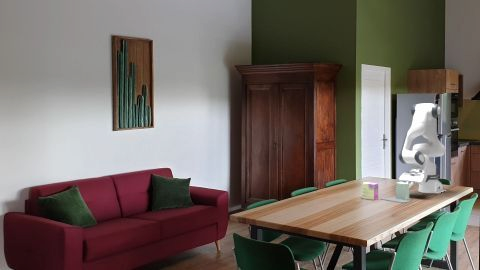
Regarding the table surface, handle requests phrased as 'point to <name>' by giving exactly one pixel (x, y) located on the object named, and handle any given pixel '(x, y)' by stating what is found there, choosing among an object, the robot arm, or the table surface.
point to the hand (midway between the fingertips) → (408, 187)
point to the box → (370, 191)
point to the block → (402, 191)
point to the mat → (395, 200)
